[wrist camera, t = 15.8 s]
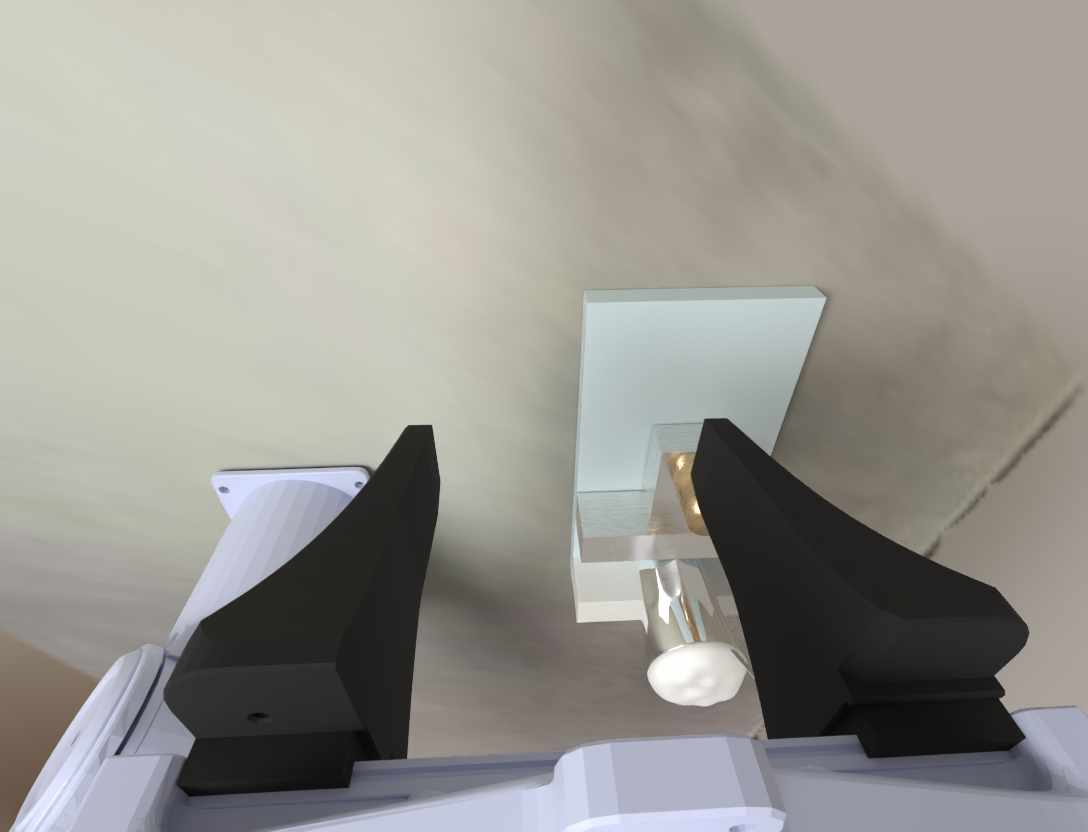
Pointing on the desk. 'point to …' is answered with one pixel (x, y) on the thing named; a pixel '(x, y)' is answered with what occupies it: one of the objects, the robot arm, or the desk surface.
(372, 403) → the desk surface
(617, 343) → the pale blue stepped plate
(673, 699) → the milkshake
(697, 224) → the desk surface
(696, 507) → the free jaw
